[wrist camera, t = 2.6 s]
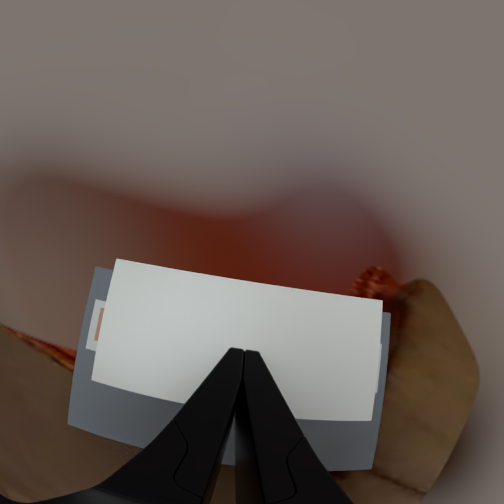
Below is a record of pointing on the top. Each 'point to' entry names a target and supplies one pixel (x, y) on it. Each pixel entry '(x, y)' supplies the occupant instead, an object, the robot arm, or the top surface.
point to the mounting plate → (162, 411)
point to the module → (238, 338)
